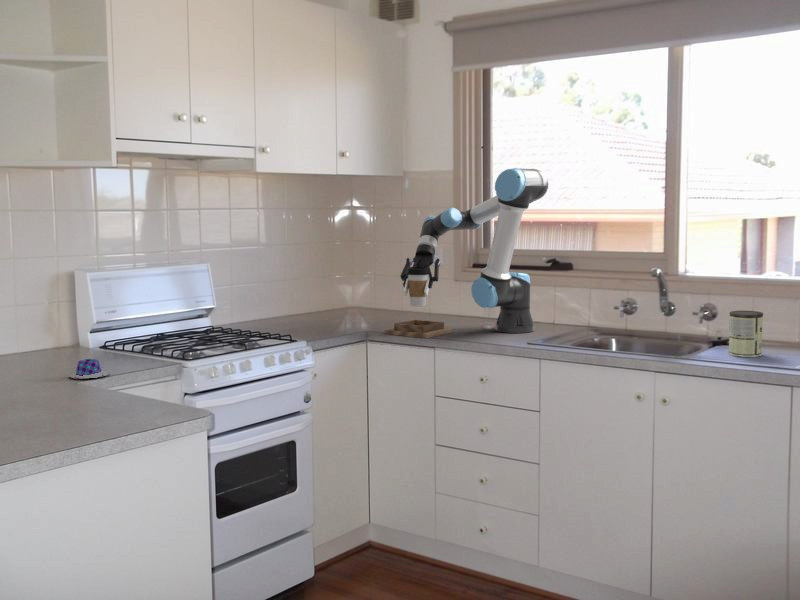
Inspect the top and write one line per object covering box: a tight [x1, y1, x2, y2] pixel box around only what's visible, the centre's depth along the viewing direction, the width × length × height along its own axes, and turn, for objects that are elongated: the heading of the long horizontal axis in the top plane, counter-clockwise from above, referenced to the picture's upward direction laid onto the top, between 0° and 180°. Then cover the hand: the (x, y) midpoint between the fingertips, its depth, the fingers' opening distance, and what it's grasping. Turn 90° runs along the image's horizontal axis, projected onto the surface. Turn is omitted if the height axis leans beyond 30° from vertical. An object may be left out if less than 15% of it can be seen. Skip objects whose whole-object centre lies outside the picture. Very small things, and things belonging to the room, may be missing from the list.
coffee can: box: [728, 310, 764, 358], centre depth 290 cm, size 10×10×14 cm
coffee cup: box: [407, 266, 429, 308], centre depth 344 cm, size 8×8×15 cm
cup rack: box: [384, 319, 454, 339], centre depth 346 cm, size 20×18×4 cm
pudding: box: [75, 358, 102, 376], centre depth 266 cm, size 12×12×5 cm
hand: (415, 293), depth 341 cm, fingers closed on coffee cup, 8 cm apart
